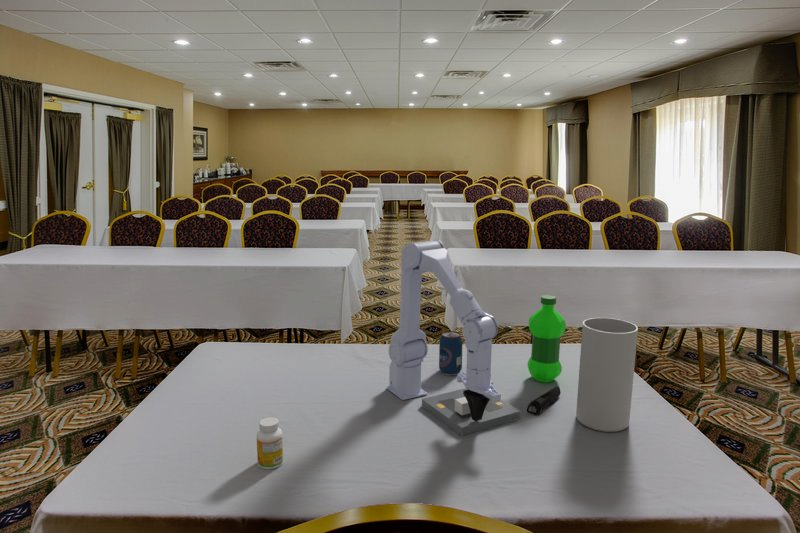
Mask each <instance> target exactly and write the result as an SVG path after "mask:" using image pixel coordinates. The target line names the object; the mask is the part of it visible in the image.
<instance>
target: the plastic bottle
mask: <svg viewBox="0 0 800 533" xmlns="http://www.w3.org/2000/svg"><path fill="white" fill-rule="evenodd" d="M540 303H541V304H542V307H541V308H539V309H538V310H537V311H535V312H534V313H533V314H531V316H530V317H529V318H528V329H529V332H530V333H531V335H532V338H531V339H532V340H531V353H530V355H531V356H530V357H529V359H528V361H527V369H528V371H529V374H530V375H531V377H533V379H535V380H534V381H537V382H540V383H552V382H553V381H554V380H555V379H556V378H558V377H559V376H560V375H561V373H562V371H563V370H562V369H563V367H562V364H561V361H560V349H561V348H560V347H561V337H562V336H563V335H564V334H565V332H566V328H567V324H566V320H565V318H564V317H563V316H562V315H561V314H560V313H559V312H558V310H556V309H555V305H556V304H557V297H556V296H554V295H549V294H544V295H541V296H540Z"/></svg>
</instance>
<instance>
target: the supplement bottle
mask: <svg viewBox="0 0 800 533" xmlns="http://www.w3.org/2000/svg"><path fill="white" fill-rule="evenodd" d="M258 424H259V430H258V431H257V433H256V451H257V452H256V453H257V456H256V457H257V464H258V466H259V468H260V469H263V470H273V469H277V468H279V467H280V466H282V465H283V463H284V442H283V438H284V437H283V430H282V429H281V428H280V427H279V426H280V423H279V419H278V418H276V417H265V418H262V419H261V420H260V421H259V423H258Z"/></svg>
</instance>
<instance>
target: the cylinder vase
mask: <svg viewBox="0 0 800 533" xmlns="http://www.w3.org/2000/svg"><path fill="white" fill-rule="evenodd" d="M638 330H639V327H638V326H637V325H636V324H635V323H632V322H630V321H627V320H624V319H618V318H612V317H592V318H587V319H584V320H583V321H582V329H581V343H580V344H581V345H580V354H579V355H580V358H579V370H578V382H577V384H578V386H577V397H576V398H577V399H576V409H575V417H576V419H577V421H578V422H580V424H582V425H583V426H585V427H587V428H589V429H591V430H595V431H598V432H606V433H616V432H621V431H623V430H625V429H627V427H629V425H630V418H631V417H630V416H631V408H632V399H633V398H632V396H633V387H634V386H633V384H634V378H635V377H634V374H635V366H636V354H637V353H636V352H637V343H638Z"/></svg>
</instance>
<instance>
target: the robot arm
mask: <svg viewBox="0 0 800 533" xmlns="http://www.w3.org/2000/svg"><path fill="white" fill-rule="evenodd" d="M448 254H449V252H448V250H447V249H446V248H445V245H444V243H443V242H442V240H439V239H433V240H426V241H425V240H424V241H417V242H409V243H407V244H405V245H404V246H403V247H402V248H401V266H400V267H401V268H400V269H401V271H400V273H401V275H400V278H401V279H400V281H401V282H400V302H399V303H400V309H399V310H400V311H399V315H400V316H399V327H398V329H397V330H396V331H395V332H394V333H393V334H392V335H391V336H390V343H389V346H388V356H389V358H390V361H391V362H390V364H389V371H388V372H389V373H388V374H389V375H388V378H389V381H388V384H389V385H387V386H386V389H387V390H388V391H390V392H391V393H393V394H394V395H395V396H396V397H397V398H399V399H400V400H402V401H406V400H411V399H414V398H418V397H423V396H426V395H428V392H427V391H426V390H424V389H423V388H422V363H423V362H424V358H425V357H426V356H427V355H428V352H429V346H428V343H427V334H426V332H424V331H423V330H421V329H420V327H421V301H422V298H421V297H422V276H423V275H422V274H424V273H425V272H428V273H433V274H434V276H435V277H436V278H437V280H438V281H439V283H440V284H441V285H442V287H443V288H444V289H445V291H446V292H447V293H448V295H449V296H450V298H449V305H450V307H451V308H452V310H453V311H454V313H455V314H456V316H457V318H458V320H459V321H460V323H461V324H462V326H463V327H462V328H461V333H462V335H463V336H462V337H463V339H464V341H465V344H464V345H465V348H466V367H465V368H466V370H465V371H466V373H465V372H459V373H458V374H456V382H458V383H462V384H463V385H464V388H467V389H468V390H464V391H463V394H464V396H465V398H466V400H467V402H468V405H469V409H470V413H471V417H472V419H473V420H474V421H478V420H482V417H483V413H484V410H485V408H486V405H487V404H488V402H489V400H491V402H492V403H498V402H500V399H501V395H502V394H501V393H500V392H499V391H497V389H496V388H495V387H494V381H493V380H492V379H491V374H492V352H493V350H492V348H493V347H492V346H493V339H494V338H495V337H496V336H497V335H498V332H499V330H498V328H499V327H498V323H497V321H496V319H495V317H494V316H493V315H491V314H489V313H487V312H486V311H483V309H482V308H481V306H480V305H479V302H477V300H476V298H475V296H474V294H473V293H472V292H471V291H470V290H468V289H464V288H463V287H462V285H461V282H460V281H459V280H458V277H457V275H456V273H455V272H454V269H453V268H452V267H451V264H450V263H449V261H448V256H449V255H448ZM501 400H502V399H501Z"/></svg>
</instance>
